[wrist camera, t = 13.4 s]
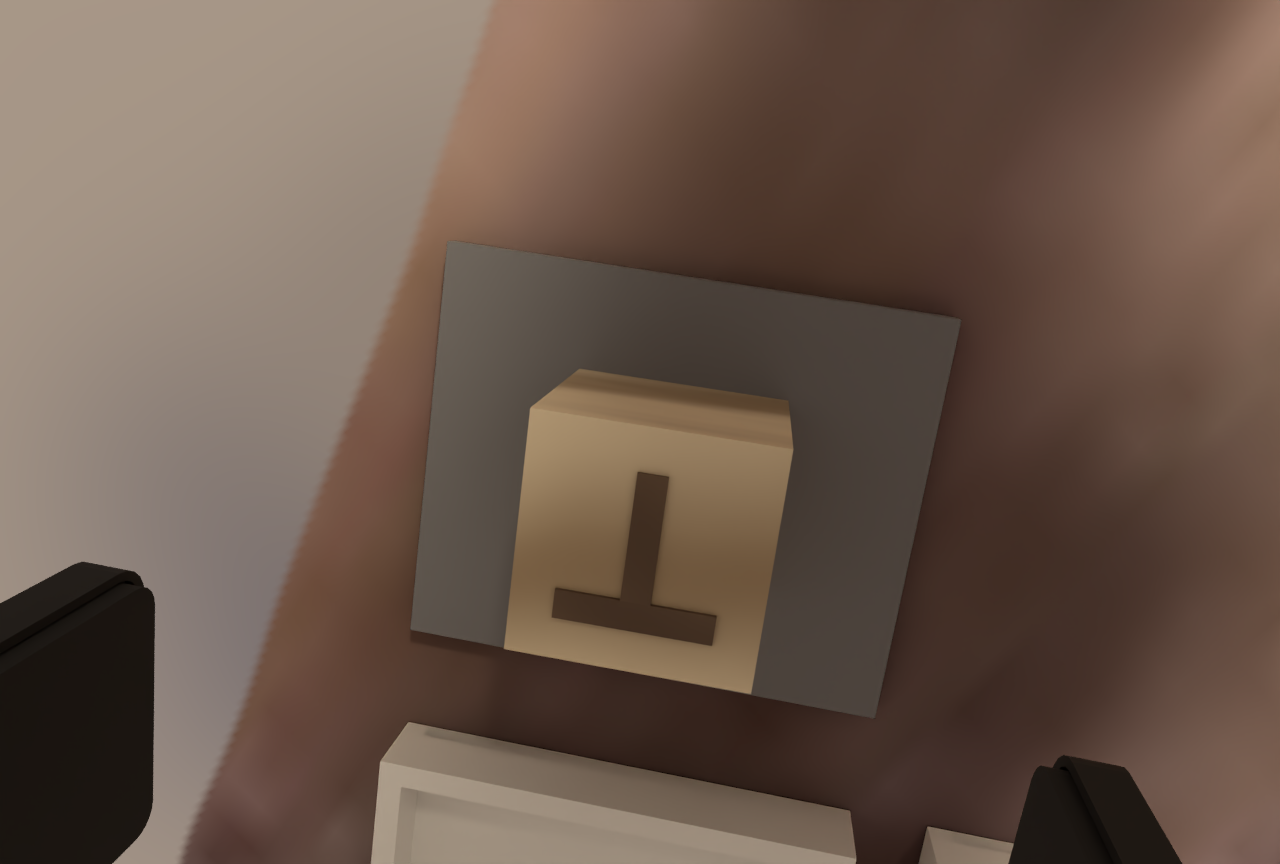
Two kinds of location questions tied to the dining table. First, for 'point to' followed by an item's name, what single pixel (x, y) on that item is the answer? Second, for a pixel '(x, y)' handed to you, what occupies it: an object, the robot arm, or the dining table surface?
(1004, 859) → the tray
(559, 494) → the letter cube
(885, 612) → the pad
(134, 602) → the robot arm
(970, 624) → the dining table surface
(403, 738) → the tray
